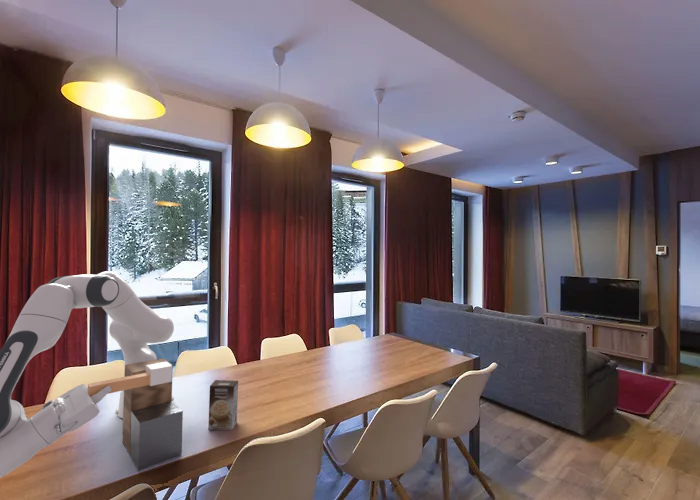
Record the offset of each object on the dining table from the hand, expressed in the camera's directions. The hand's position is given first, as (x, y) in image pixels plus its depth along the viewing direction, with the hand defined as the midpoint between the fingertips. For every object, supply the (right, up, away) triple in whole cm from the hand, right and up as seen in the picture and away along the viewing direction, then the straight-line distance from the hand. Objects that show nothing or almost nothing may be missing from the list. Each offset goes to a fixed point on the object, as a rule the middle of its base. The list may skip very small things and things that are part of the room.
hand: (108, 385), depth 101 cm
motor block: (+9, -26, +8) cm, 29 cm away
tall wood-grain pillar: (+1, -26, +16) cm, 30 cm away
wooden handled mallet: (+4, -2, +4) cm, 6 cm away
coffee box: (+23, -27, +28) cm, 45 cm away
